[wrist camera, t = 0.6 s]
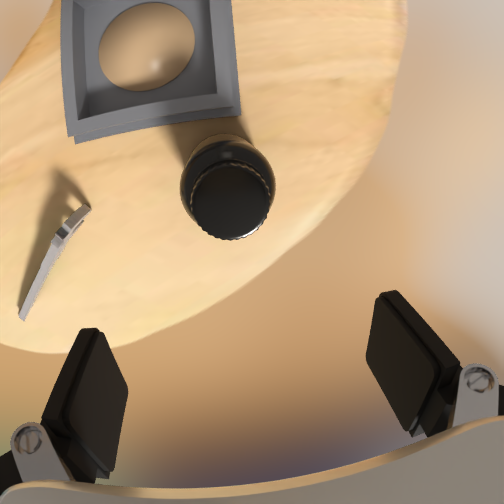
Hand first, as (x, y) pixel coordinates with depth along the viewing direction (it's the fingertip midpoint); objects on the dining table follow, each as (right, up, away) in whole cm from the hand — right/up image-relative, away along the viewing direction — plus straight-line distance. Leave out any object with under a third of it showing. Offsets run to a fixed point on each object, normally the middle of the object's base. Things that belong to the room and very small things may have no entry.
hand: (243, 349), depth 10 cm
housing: (-9, +22, +13) cm, 27 cm away
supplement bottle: (-2, +11, +19) cm, 22 cm away
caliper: (-24, +1, +21) cm, 32 cm away
